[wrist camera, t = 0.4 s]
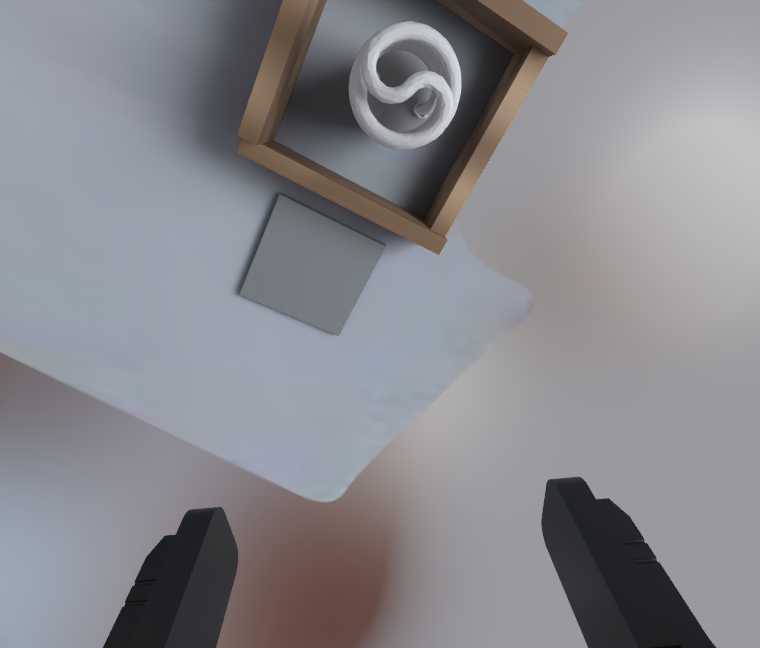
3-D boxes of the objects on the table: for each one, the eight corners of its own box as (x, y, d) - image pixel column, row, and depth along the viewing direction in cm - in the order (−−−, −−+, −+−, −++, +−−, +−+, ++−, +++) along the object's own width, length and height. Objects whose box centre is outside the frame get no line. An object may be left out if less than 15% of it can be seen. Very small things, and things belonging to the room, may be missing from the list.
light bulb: (442, 71, 29) (494, 43, 19) (412, 153, 32) (442, 171, 21) (366, 37, 28) (372, -14, 17) (340, 124, 30) (331, 127, 20)
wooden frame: (338, -93, 25) (334, -151, 20) (538, 45, 29) (580, 28, 24) (252, 148, 31) (230, 154, 25) (429, 238, 34) (442, 261, 29)
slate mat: (280, 193, 32) (279, 194, 32) (385, 244, 34) (385, 246, 34) (241, 291, 36) (239, 294, 35) (338, 333, 38) (338, 336, 37)
